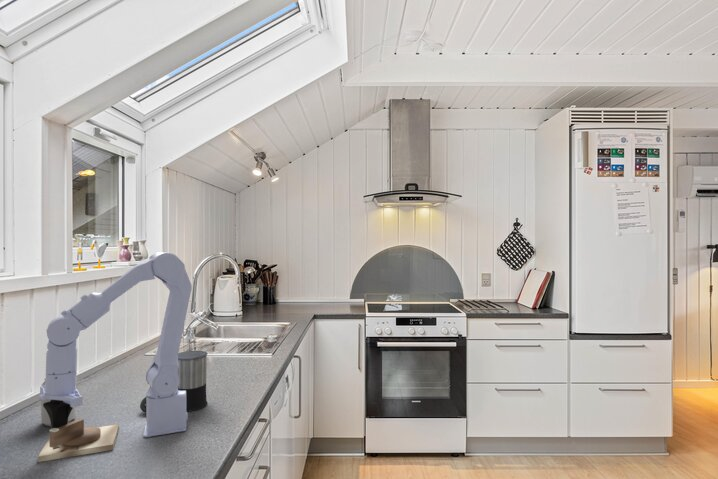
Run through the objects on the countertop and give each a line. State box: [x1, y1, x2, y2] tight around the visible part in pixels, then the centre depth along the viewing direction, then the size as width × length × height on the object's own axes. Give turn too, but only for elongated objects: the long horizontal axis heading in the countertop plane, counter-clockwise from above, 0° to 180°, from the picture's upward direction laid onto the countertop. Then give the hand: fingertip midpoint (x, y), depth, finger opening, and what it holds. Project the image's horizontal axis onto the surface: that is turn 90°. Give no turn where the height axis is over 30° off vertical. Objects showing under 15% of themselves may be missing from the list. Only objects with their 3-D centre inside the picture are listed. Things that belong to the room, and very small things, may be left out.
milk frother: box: [139, 350, 208, 414], centre depth 123 cm, size 14×16×15 cm
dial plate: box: [37, 423, 120, 463], centre depth 101 cm, size 14×12×1 cm
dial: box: [49, 418, 101, 448], centre depth 99 cm, size 11×8×5 cm
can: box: [40, 377, 77, 427], centre depth 114 cm, size 8×8×12 cm
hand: (59, 432), depth 97 cm, fingers closed, pressing on dial
